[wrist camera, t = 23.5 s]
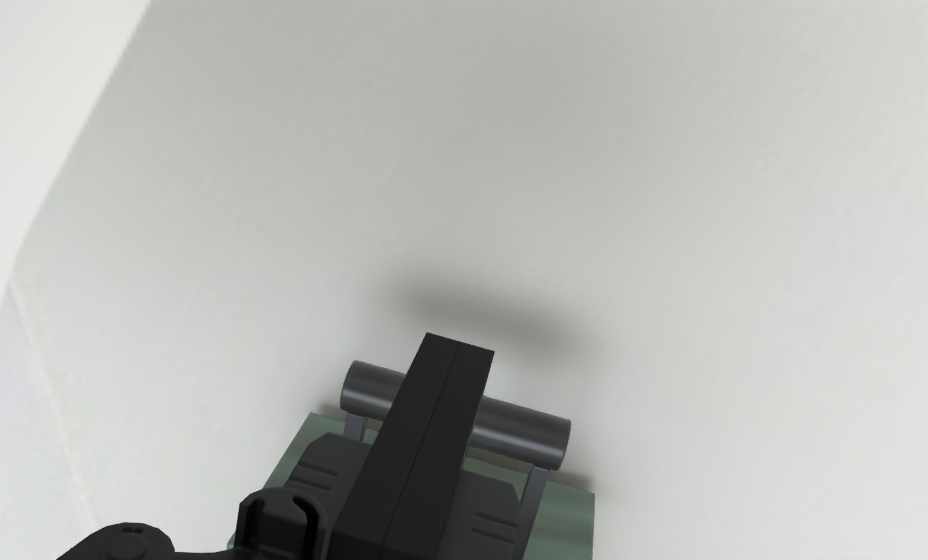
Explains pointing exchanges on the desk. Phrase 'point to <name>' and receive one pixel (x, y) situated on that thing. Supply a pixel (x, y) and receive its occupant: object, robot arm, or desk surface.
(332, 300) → the desk surface
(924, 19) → the desk surface
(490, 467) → the green drawer
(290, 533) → the robot arm
